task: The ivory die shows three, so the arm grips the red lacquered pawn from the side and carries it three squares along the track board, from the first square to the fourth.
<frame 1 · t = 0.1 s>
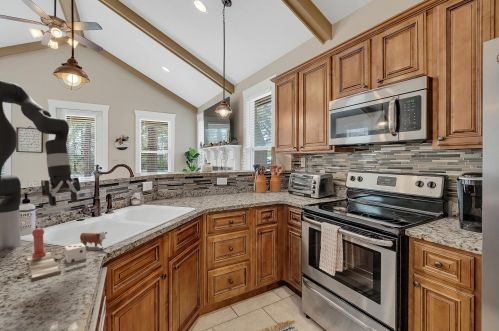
hand: (64, 203, 105), 22 cm above the table, tool pointing down, fingers open, 8 cm apart
die: (75, 261, 101), on the table
bull figurine: (94, 249, 115), on the table
track board: (42, 265, 97), on the table
pawn: (39, 255, 104), point 1 cm above the table, touching track board
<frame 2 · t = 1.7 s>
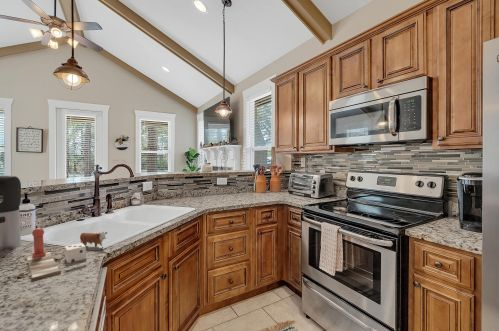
hand: (0, 217, 93), 19 cm above the table, tool horizontal, fingers open, 8 cm apart
nothing on the table moved.
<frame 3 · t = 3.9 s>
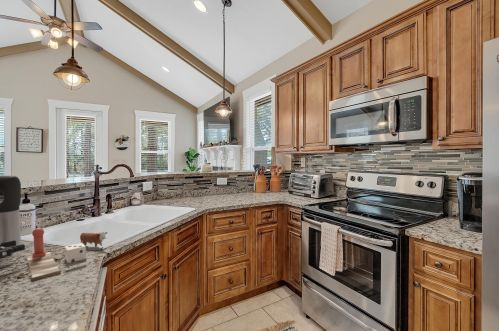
hand: (20, 244, 99), 8 cm above the table, tool horizontal, fingers open, 8 cm apart
nothing on the table moved.
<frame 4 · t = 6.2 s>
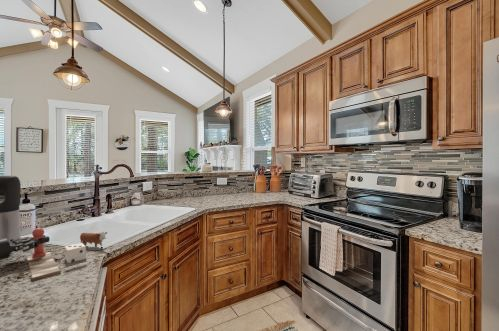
hand: (46, 238, 106), 8 cm above the table, tool horizontal, fingers closed on pawn, 3 cm apart
pawn: (39, 255, 104), point 1 cm above the table, touching gripper, track board
everything else where it was.
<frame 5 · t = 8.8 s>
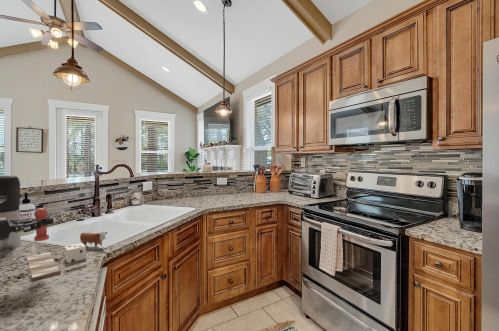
hand: (50, 220, 95), 18 cm above the table, tool horizontal, fingers closed on pawn, 3 cm apart
pawn: (41, 239, 93), point 12 cm above the table, touching gripper
everything else where it was.
when the fingers open (8 cm above the table, at t = 11.5 s): pawn stays where it is, resting on track board.
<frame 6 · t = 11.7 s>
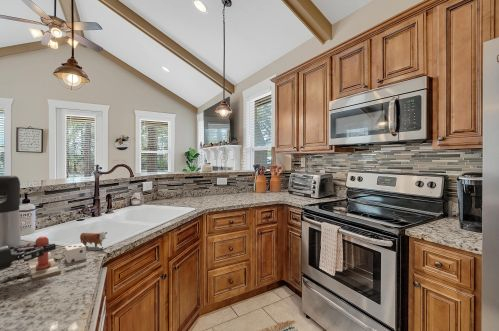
hand: (51, 245, 95), 9 cm above the table, tool horizontal, fingers open, 5 cm apart
pawn: (43, 267, 93), point 1 cm above the table, touching track board
everything else where it was.
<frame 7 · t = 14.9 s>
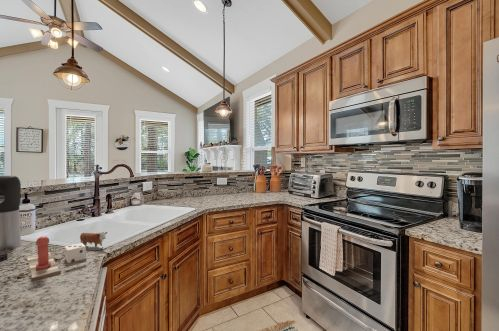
hand: (2, 253, 84), 10 cm above the table, tool horizontal, fingers open, 8 cm apart
nothing on the table moved.
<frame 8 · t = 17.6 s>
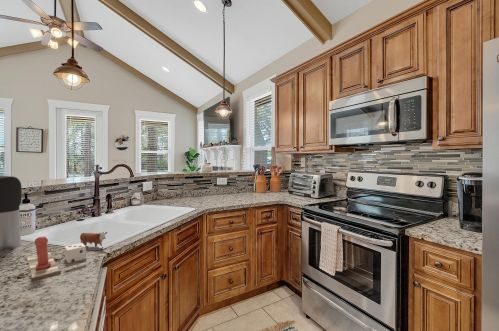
nothing on the table moved.
at the end: pawn 0.1 cm from the target spot on the track board, point 1.2 cm above the track board's base; pawn tilted 2°; the gripper is holding nothing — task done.
